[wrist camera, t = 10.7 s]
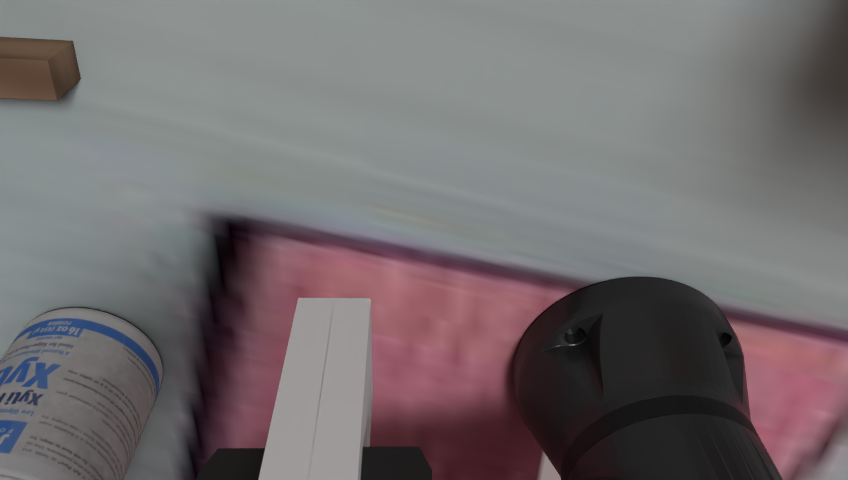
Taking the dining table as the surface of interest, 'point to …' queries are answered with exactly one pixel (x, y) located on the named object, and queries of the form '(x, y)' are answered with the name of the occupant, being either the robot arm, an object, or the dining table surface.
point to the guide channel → (37, 68)
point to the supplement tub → (75, 396)
